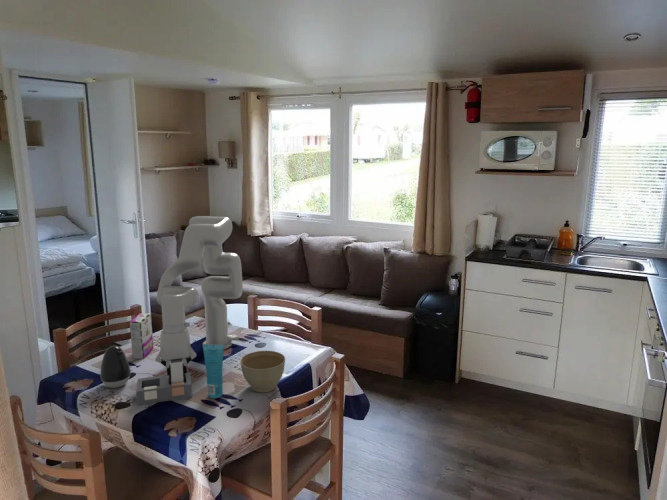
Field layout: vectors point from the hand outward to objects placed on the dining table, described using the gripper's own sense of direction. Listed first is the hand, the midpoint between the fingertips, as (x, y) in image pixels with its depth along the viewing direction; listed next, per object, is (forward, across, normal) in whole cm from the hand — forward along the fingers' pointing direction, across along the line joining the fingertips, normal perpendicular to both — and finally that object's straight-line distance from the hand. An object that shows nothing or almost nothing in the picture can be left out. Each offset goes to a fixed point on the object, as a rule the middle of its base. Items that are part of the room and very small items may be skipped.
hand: (177, 375), depth 176 cm
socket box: (+7, +4, 0) cm, 8 cm away
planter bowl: (+7, -30, +5) cm, 31 cm away
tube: (+7, -13, +6) cm, 15 cm away
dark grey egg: (+7, +21, -13) cm, 26 cm away
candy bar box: (+7, +13, -40) cm, 43 cm away
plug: (+3, 0, 0) cm, 3 cm away
